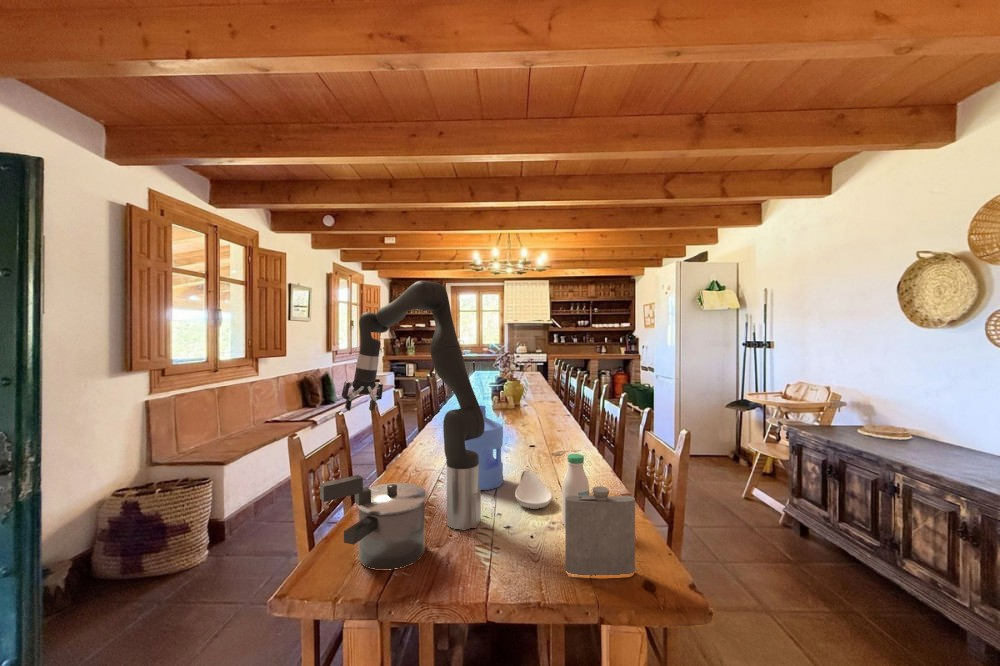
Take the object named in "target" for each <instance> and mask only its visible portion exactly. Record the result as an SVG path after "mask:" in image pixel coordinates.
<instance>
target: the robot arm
mask: <svg viewBox="0 0 1000 666" xmlns="http://www.w3.org/2000/svg"><path fill="white" fill-rule="evenodd" d="M411 310H421V311H429V312H430V311H431V313H432V316H433V320H434V323H435V325H434V326H435V327H434V328H435V329H434V333H433V335H432V339H431V342H430V346H429V348H430V349H429V351H430V357H431V361H432V364H433V369H434V371H435V373H436V374H437V376H438V377H439V378H440V379H441V380H442V382H443V383H445V385H446V386H447V387H448V388H449V389H450V390H451V391H452V393H453V394H454V396H455V397H456V399H457V402H458V405H459V408H455V409H450V410H449V411H446V413H445V415H444V419H443V423H442V424H443V425H442V426H443V427H442V431H443V444H444V445H443V447H444V449H443V450H444V456H445V458H446V525H447V527H448V526H449V527H448V528H450V527H451V528H454V529H453V530H455V529H469V528H476V527H477V528H478V526H479V524H480V522H481V519H482V517H481V515H482V513H481V512H482V509H481V508H482V507H481V506H482V505H481V504H482V503H481V502H482V497H481V496H482V495H481V493H482V492H481V488H479V456H478V454H477V453H476V452H474V451H471V450H466V448H465V441H467V440H471V439H475V438H478V437H480V436H482V434H483V433H484V428H485V423H484V418H483V414H482V411H481V409H480V406H481V405H480V404H479V401H478V399H477V396H476V394H475V392H474V390H473V387H472V383H471V379H470V378H469V373H468V372H467V371H468V370H467V368H466V364H465V360H464V355H463V353H462V349H461V346H460V343H459V340H458V337H457V332H456V329H455V325H454V321H453V316H452V311H451V306H450V300H449V295H448V292H447V289H446V287H445V285H443V284H442V283H439V282H437V281H435V282H434V281H429V280H418V281H416V282H414V283H412V284H411V285H410V286H409V287H408V288H406V290H404V292H403V293H401V295H399V296H398V297H397V298H396V299H394V300H393V301H391V302H389V303H387V304H386V305H384V306H382V307H380V309H378V310H377V312H369V311H367V312H363V313H362V314H361V316H360V317H359V320H358V327H359V336H360V346H359V352H358V356H357V359H356V360H357V361H356V363H355V372H354V378H353V381H352V382H350V381H347V380H346V381H344V382H343V387H342V392H341V398H343V399H344V400H345V405H344V408H345V409H346V411H347V412H348V411H349V412H351V408H352V403H353V401H352V400H353V399H354V398H355V397H357V396H358V395H359V396H360V395H366V396H367V395H368V396H369V397H370V400H369V408H368V410H369V411H371V412H372V411H374V410H375V408H376V403H377V401H378V400H382V397H383V389H384V384H383V383H381V382H377V383H376V380H377V374H378V368H379V367H378V366H379V358H380V350H381V344H382V343H381V341H380V340H378V339H376V338H373V337H372V333H377V334H382V333H383V334H384V333H387V332H388V331H389V329H390V328H391V327H392V326H393V325H395V324H397V323H399V322H401V321H402V320H404V319H405V317H406V316H407V315H408V312H409V311H411ZM351 387H352V389H351ZM375 388H376V394H375V393H374V391H373V390H374V389H375ZM350 389H351V391H350V392H349V390H350ZM451 528H450V529H451ZM477 528H476V529H477ZM469 530H470V529H469Z"/></svg>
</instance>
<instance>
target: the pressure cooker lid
mask: <svg viewBox="0 0 1000 666" xmlns="http://www.w3.org/2000/svg"><path fill="white" fill-rule="evenodd" d="M426 493H427V492H426V489H425V488H424V487H423V486H421V485H418V484H416V483H412V482H411V483H410V482H391V483H390V482H388V483H382V484H378V485H374V486H371V487H368V486H365V487H364V478H363V476H362V475H360V474H355V475H351V476H347V477H343V478H342V477H341V478H339V479H334V480H329V481H326V482H325V481H323V482H321V483H319V499H320V500H321V501H322V503H325V502H330V501H333V500H337V499H343V498H346V497H349V496H350V497H351V496H354V503H355V504H356V505H357V508H358V510H359V509H360V510H361V511H363V512H365V513H369V514H374V515H393V514H399V513H404V512H408V511H411V510H413V509H416V508H418V507H419V506H421V505H422V504H423V503H424V502H425V501H426V499H427V497H426V496H427V495H426Z"/></svg>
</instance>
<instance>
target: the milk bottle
mask: <svg viewBox="0 0 1000 666" xmlns="http://www.w3.org/2000/svg"><path fill="white" fill-rule="evenodd" d="M584 461H585V457H584V455H582V454H580V453H569V454H568V455H567V464H568V465H567V470H566V473H565V475H564V476H563V480H562V485H561V486H562V487H561V522H562V523H561V524H562V525H563V524H564V525H565V498H566V497H567V496H586V495H590V484H589V480H588V477H587V475H586V472H585V469H584V465H585V463H584ZM564 525H563V526H564Z"/></svg>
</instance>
